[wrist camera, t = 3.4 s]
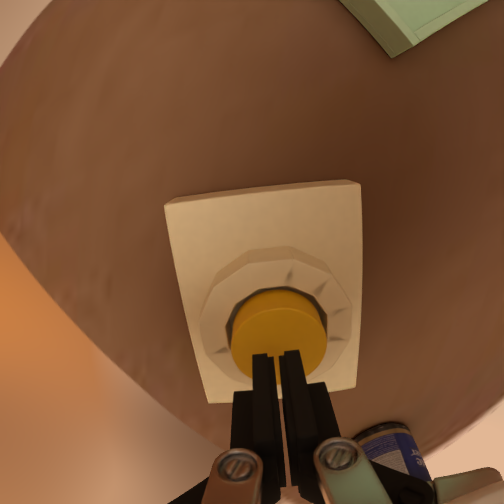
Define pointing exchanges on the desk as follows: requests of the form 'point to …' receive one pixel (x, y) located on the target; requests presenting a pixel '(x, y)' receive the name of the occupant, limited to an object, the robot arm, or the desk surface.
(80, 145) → the desk surface
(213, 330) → the box
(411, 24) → the tray
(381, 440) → the pill bottle
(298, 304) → the button
